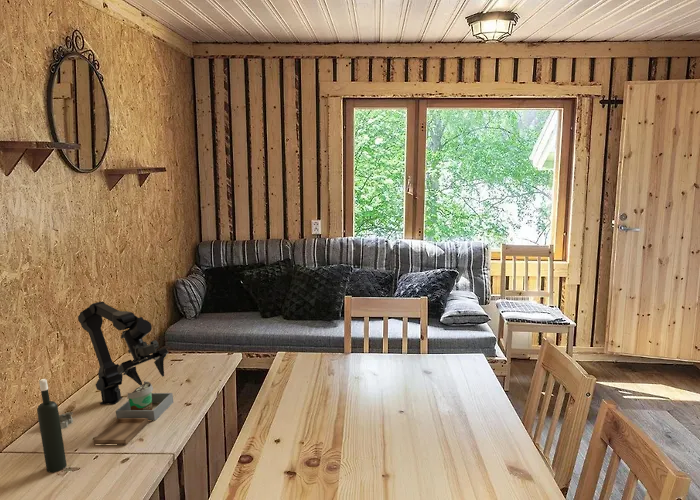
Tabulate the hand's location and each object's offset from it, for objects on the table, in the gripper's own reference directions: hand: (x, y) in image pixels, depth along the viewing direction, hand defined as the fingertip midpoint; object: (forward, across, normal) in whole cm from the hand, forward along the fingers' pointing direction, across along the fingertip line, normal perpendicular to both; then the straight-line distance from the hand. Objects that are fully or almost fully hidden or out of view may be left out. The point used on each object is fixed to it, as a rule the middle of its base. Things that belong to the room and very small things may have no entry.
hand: (152, 380), depth 210 cm
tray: (+12, -15, +7) cm, 21 cm away
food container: (+8, 0, +15) cm, 17 cm away
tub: (+8, 0, +15) cm, 17 cm away
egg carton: (-2, -25, +32) cm, 41 cm away
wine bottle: (+14, -40, +4) cm, 42 cm away
